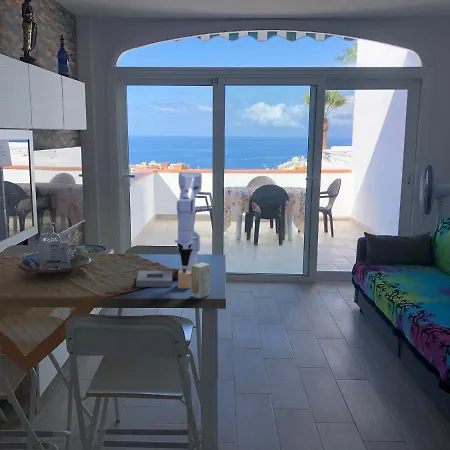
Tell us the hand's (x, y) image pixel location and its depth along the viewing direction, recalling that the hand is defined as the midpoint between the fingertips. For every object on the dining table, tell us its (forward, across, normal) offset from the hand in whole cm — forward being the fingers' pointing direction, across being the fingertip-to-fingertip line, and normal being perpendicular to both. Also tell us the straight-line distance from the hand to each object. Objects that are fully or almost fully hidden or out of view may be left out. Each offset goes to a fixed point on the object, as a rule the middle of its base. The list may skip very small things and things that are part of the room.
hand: (184, 263), depth 191 cm
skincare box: (+10, +11, +6) cm, 16 cm away
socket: (+10, -8, -12) cm, 17 cm away
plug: (+10, 0, 0) cm, 10 cm away
